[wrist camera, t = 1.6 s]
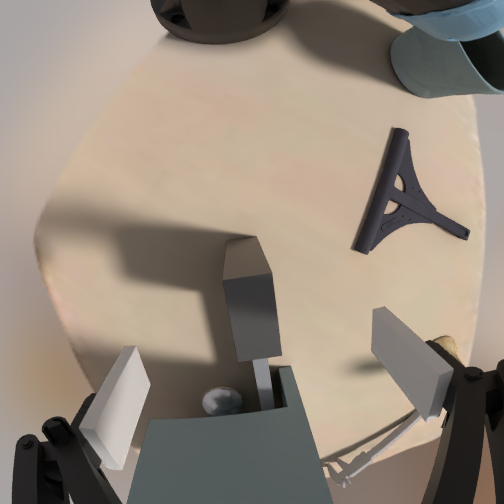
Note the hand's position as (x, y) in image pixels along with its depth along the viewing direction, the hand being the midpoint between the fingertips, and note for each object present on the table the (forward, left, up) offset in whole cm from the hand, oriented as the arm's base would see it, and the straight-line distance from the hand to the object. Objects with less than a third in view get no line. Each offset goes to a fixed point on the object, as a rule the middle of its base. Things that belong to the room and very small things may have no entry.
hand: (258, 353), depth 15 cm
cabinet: (+21, -4, -16) cm, 26 cm away
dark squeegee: (-3, +22, -17) cm, 27 cm away
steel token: (+17, -5, -16) cm, 24 cm away
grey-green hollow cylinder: (-21, +23, -16) cm, 35 cm away
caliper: (+33, +18, -16) cm, 41 cm away
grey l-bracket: (+7, 0, -16) cm, 17 cm away
